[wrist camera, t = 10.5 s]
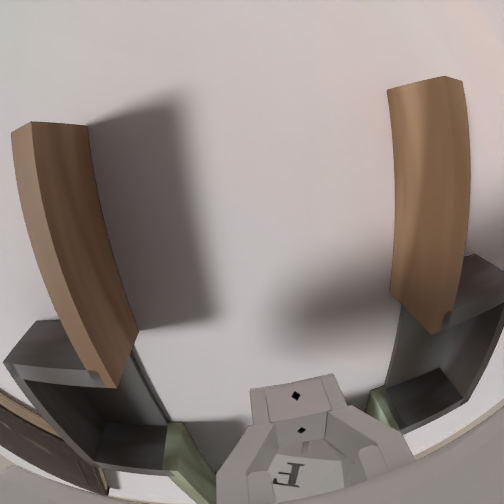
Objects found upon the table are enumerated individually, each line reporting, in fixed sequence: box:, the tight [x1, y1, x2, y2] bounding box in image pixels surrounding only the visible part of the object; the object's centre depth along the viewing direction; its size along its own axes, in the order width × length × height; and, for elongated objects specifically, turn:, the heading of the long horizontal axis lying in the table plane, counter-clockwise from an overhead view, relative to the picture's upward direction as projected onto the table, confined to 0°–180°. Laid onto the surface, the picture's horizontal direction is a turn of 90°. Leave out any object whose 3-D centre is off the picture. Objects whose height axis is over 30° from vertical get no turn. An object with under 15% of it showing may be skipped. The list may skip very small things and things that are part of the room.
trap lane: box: [3, 76, 504, 504], centre depth 13 cm, size 27×30×4 cm
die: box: [267, 437, 354, 503], centre depth 14 cm, size 8×9×10 cm
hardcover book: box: [0, 393, 110, 496], centre depth 16 cm, size 16×23×2 cm
